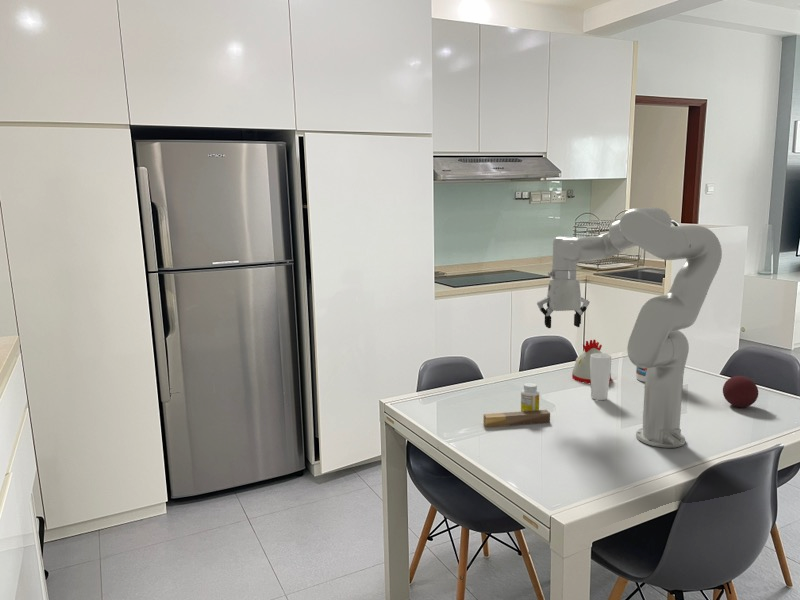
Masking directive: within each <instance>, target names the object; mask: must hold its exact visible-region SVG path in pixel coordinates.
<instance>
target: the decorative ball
mask: <svg viewBox="0 0 800 600" xmlns="http://www.w3.org/2000/svg"><path fill="white" fill-rule="evenodd" d="M722 394H723V397H724V399H725V401H726V402H727V403H729V404H730V405H731V406H734V407H736V408H747V407H750V406H752V405H754V403H755V402H756V401H757V400H758V397H759V389H758V386H757V384H756V383H755V382H754V380H752V379H751V378H749V377H747V376H744V375H735V376H731V377H729V378H728V379H727V380H726V381H725V382H724V384H723V386H722Z"/></svg>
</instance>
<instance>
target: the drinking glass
mask: <svg viewBox="0 0 800 600" xmlns="http://www.w3.org/2000/svg"><path fill="white" fill-rule="evenodd" d="M611 371H612V356H611V354H608V353H603V352H602V353H594V354H591V357H590V378H591V384H590V397H591V399H593V400H597V401H606V400H607V399H608V398H609V397H608V396H609V385H610V382H609V379H610V372H611ZM611 373H612V372H611Z"/></svg>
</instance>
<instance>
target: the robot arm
mask: <svg viewBox="0 0 800 600" xmlns="http://www.w3.org/2000/svg"><path fill="white" fill-rule="evenodd" d="M636 246H637V247H639V248H640V249H642V250H644V251H646V252H647V253H649V254H650V255H652V256H654V257H656V258H658V259H661V260H664V261H674V260H675V261H676V260H685V262H684V264H683V265H682V266H681V267H680V269H679V270H678V272H676V274H675V276H674V279H673V282H672V284H671V287H670V289H669V291H668V292H667V293H666V294H665V295H660V296H655V297H652V298H650V299H648V300H647V301H645V303H644V304H643V305H642V307H641V308H640V311H638V312H639V313H638V315H637V317H636V320H635V323H634V325H633V327H632V328H633V329H632V330H631V333H630V336H629V338H628V341H627V349H626V352H627V356H628V358H629V360H630V362H631V363H632V364H633V365H634V366H635V367H636V366H637V367H640V368H647V371H646V376H645V382H644V393H643V394H644V396H643V411H642V412H643V413H642V427H641V428H639V429H638V430H637V431H636V433H635V435H636V438H637V440H638V441H640V442H642V443H644V444H646V445H649V446H653V447H658V448H667V449H671V448H679V447H682V446H684V445H685V443H686V437H685V436H684V435H683V434H682V429H681V417H682V415H681V414H682V412H681V411H682V400H683V399H682V398H683V387H684V386H683V385H684V375H685V367H686V363H687V360H688V355H689V349H690V346H689V341H688V339H687V337H686V335H685V334H684V333H683V332H681V331H680V330H684V329H688V328H690V327H692V326H693V325H694V324H695V322H696V321H697V318H698V317H699V314H700V312H701V309H702V307H703V305H704V302H705V300H706V297H707V295H708V292H709V290H710V287H711V285H712V283H713V281H714V279H715V277H716V275H717V273H718V270H719V268H720V265H721V261H722V255H723V254H722V253H723V252H722V251H723V250H722V245H721V242H720V240H719V237H717V235H716V234H715V233H714V232H713V231H712V230H711V229H709V228H707V227H705V226H702V225H677V226H675V225H674V226H672V218H671V216H670V213H668V212H667V210H664V209H663V208H660V207H637V208H630V209H629V210H627V211H626V212H624V214H623V215H622V216H621V218H620V219H619V220H616V221H613V222H612V223H611V225H609V229H608V232H606V233H603V234H600V235H597V236H593V235H592V236H582V237H581V236H580V237H575V236H556V237H554V239H553V242H552V269H551V271H548V272H547V275H548V277H551V278H550V279H549V283H548V287H547V288H548V289H547V293H546V297H545V298H543V299H540V300H539V301H537V303H536V305H537V307H538V309H539V311H540V312H541V313H542V314H543V316H544V326H545V327H546V328H547V329H551V328H552V316H551V314H552V313H553V312H559V311H560V312H566V311H567V312H569V311H574V312H575V313H574V314H573V325H574V326H575V327H576V328H580V326H581V325H582V324H581V323H582V315H583V314H584V313H585V311H587V308H588V307H589V305H590V302H591V301H589V300H588V299H586V298H584V297H582V296H581V295H582V293H581V287H580V286H581V284H580V279H578V278H577V270H578V269H577V268H578V267H577V263H583V262H590V261H600V260H604V259H608V258H610V257H614V256H616V255H619V254H621V253H623V252H624V251H626V250H627V249H631V248H634V247H636ZM545 304H546V309H545V308H544V305H545Z"/></svg>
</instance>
